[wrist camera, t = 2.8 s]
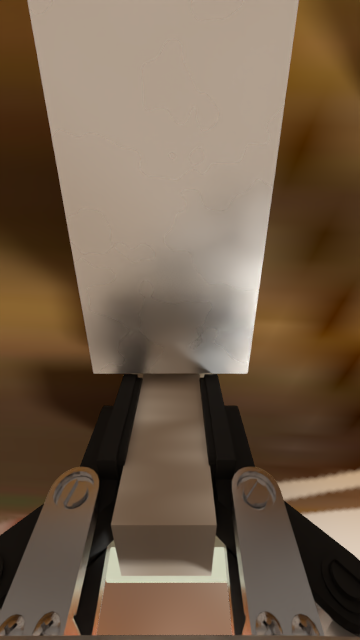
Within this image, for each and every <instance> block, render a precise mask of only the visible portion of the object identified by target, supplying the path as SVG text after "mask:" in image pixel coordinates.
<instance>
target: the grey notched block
mask: <svg viewBox="0 0 360 640" xmlns="http://www.w3.org/2000/svg"><path fill="white" fill-rule="evenodd" d="M27 1H28V7H29V12H30V18H31V24H32V29H33V35H34V40H35V46H36V52H37V57H38V63H39V69H40V74H41V80H42V86H43V91H44V97H45V103H46V108H47V114H48V119H49V125H50V131H51V136H52V142H53V148H54V153H55V159H56V165H57V170H58V176H59V181H60V187H61V193H62V198H63V204H64V210H65V215H66V221H67V227H68V232H69V238H70V244H71V249H72V255H73V260H74V266H75V272H76V277H77V283H78V289H79V294H80V300H81V306H82V311H83V317H84V322H85V328H86V334H87V339H88V345H89V351H90V356H91V362H92V368H93V373H94V374H162V373H248V365H249V358H250V351H251V344H252V336H253V329H254V322H255V314H256V307H257V300H258V293H259V285H260V278H261V271H262V264H263V256H264V249H265V242H266V234H267V227H268V220H269V213H270V205H271V198H272V191H273V184H274V176H275V169H276V162H277V154H278V147H279V140H280V133H281V125H282V118H283V111H284V104H285V96H286V89H287V82H288V74H289V67H290V60H291V53H292V45H293V38H294V31H295V24H296V16H297V9H298V2H299V0H27Z"/></svg>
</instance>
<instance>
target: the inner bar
mask: <svg viewBox="0 0 360 640" xmlns="http://www.w3.org/2000/svg"><path fill="white" fill-rule="evenodd" d="M204 374H212V373H162V374H138V378H142V379H143V381H142V385H141V390H140V395H139V400H138V405H137V409H136V414H135V419H134V424H133V428H132V433H131V438H130V443H129V447H128V452H127V457H126V462H125V466H123V471H122V475H121V480H120V485H119V489H118V494H117V499H116V503H115V508H114V513H113V517H112V522H111V528H112V533H113V538H114V543H115V548H116V553H117V557H118V562H119V567H120V572H121V576H211V573H212V564H213V555H214V546H215V537H216V527H217V523H216V514H215V505H214V497H213V488H212V479H211V471H210V466H209V463H208V454H207V445H206V436H205V427H204V418H203V409H202V400H201V391H200V382H199V378H200V377H204Z"/></svg>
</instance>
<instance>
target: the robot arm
mask: <svg viewBox="0 0 360 640" xmlns="http://www.w3.org/2000/svg"><path fill="white" fill-rule="evenodd" d="M142 381H143V379H142V378H138V374H124V376H123V379H122V382H121V385H120V388H119V391H118V395H117V398H116V401H115V404H114V406H104V407H103V408H102V410H101V413H100V415H99V418H98V420H97V423H96V426H95V428H94V431H93V434H92V436H91V439H90V442H89V444H88V447H87V449H86V452H85V455H84V457H83V460H82V463H81V465H80V467H77V468H73V469H71V470H69V471H67V472H65V473H64V474H62V475H61V476H60V477H59V478H58V479H57V480H56V481H55V482H54V484H53V485H52V487H51V489H50V491H49V493H48V496H47V498H46V501H45V503H44V504H43V505H41V506H40V507H39V508H37V509H36V510H34V511H33V512H32V513H30V514H29V515H28V516H26V517H25V518H23V519H22V520H21V521H19V522H18V523H17V524H16V525H14V526H12V527H11V528H10V529H9V530H7V531H6V532H4V533H3V534H1V535H0V640H360V561H359V560H358V559H357V558H356V557H355V556H354V555H353V554H352V553H350V552H349V551H348V550H347V549H345V548H344V547H343V546H341V545H340V544H339V543H338V542H336V541H335V540H334V539H332V538H331V537H329V535H327V534H326V533H325V532H323V531H322V530H321V529H319V528H318V527H317V526H316V525H314V524H313V523H312V522H311V521H309V520H308V519H307V518H305V517H304V516H303V515H302V514H300V513H299V512H298V511H297V510H295V509H294V508H293V507H291V506H290V505H289V504H288V503H286V502H285V501H284V500H283V497H282V494H281V491H280V488H279V486H278V484H277V482H276V481H275V480H274V478H273V477H272V476H271V475H270V474H268V473H267V472H266V471H264V470H262V469H260V468H256V467H255V465H254V462H253V458H252V455H251V451H250V448H249V444H248V441H247V437H246V434H245V430H244V427H243V423H242V420H241V416H240V413H239V409H238V407H237V406H224V402H223V398H222V393H221V389H220V384H219V379H218V375H217V374H204V377H200V378H199V382H200V391H201V400H202V409H203V418H204V427H205V436H206V445H207V454H208V463H209V466H210V471H211V479H212V488H213V497H214V505H215V514H216V523H217V527H216V536H217V537H218V538H219V539H220V540H221V541H222V542H223V543H224V552H225V563H226V574H227V584H228V596H229V607H230V619H231V630H232V635H97V629H98V623H99V617H100V610H101V603H102V597H103V592H104V585H105V580H106V573H107V567H108V561H109V555H110V549H111V542H112V541H113V540H114V538H113V533H112V528H111V522H112V517H113V513H114V508H115V503H116V499H117V494H118V489H119V485H120V480H121V475H122V471H123V466H125V462H126V457H127V452H128V447H129V443H130V438H131V433H132V428H133V424H134V419H135V414H136V409H137V405H138V400H139V395H140V390H141V385H142Z"/></svg>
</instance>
